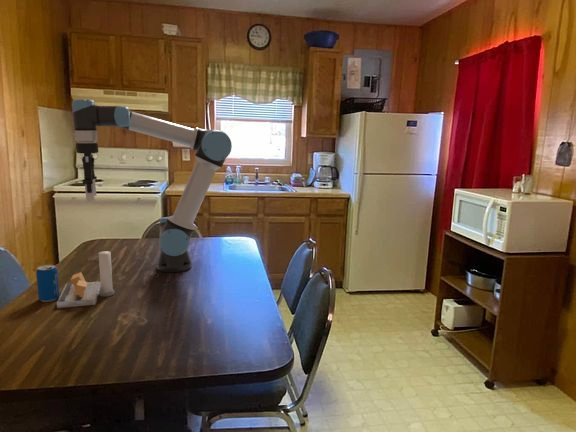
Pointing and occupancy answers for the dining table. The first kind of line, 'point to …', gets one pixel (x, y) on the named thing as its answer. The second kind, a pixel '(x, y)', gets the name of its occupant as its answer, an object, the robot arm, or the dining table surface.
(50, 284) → the beverage can
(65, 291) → the breaker plate
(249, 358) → the dining table surface
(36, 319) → the dining table surface
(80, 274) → the paddle
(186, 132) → the robot arm
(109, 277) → the white rounded smooth part
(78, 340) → the dining table surface
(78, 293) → the paddle
